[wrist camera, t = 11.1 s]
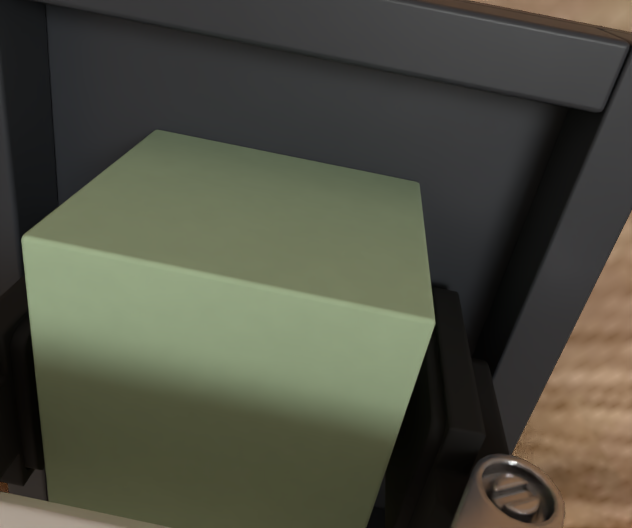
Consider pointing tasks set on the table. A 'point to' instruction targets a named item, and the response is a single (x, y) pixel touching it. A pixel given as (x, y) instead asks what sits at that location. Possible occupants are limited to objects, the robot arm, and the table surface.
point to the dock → (353, 136)
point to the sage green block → (227, 336)
